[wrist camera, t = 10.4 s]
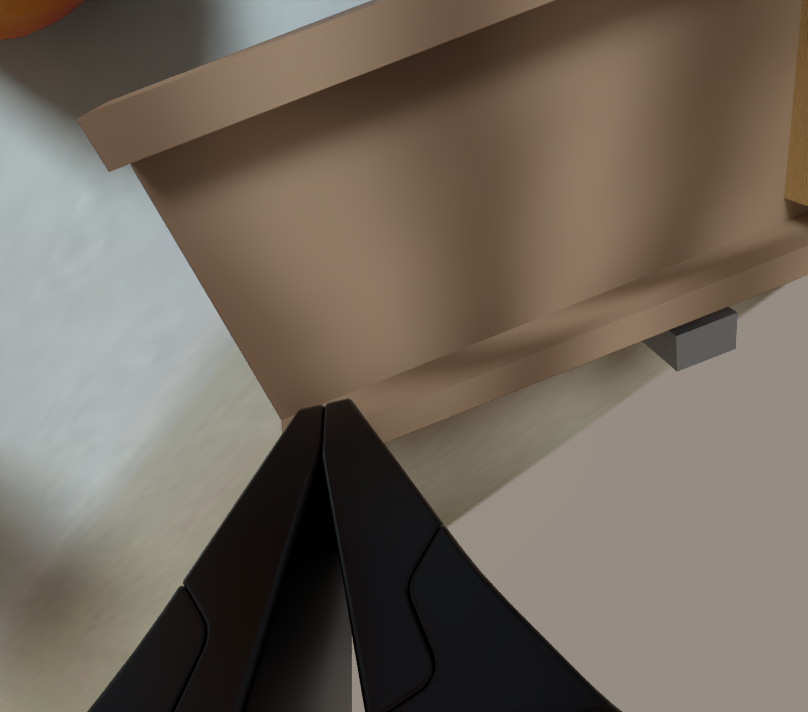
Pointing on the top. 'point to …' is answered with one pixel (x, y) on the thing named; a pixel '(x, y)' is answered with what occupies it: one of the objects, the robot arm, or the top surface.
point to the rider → (799, 121)
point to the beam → (472, 189)
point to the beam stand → (696, 339)
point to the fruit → (31, 15)
